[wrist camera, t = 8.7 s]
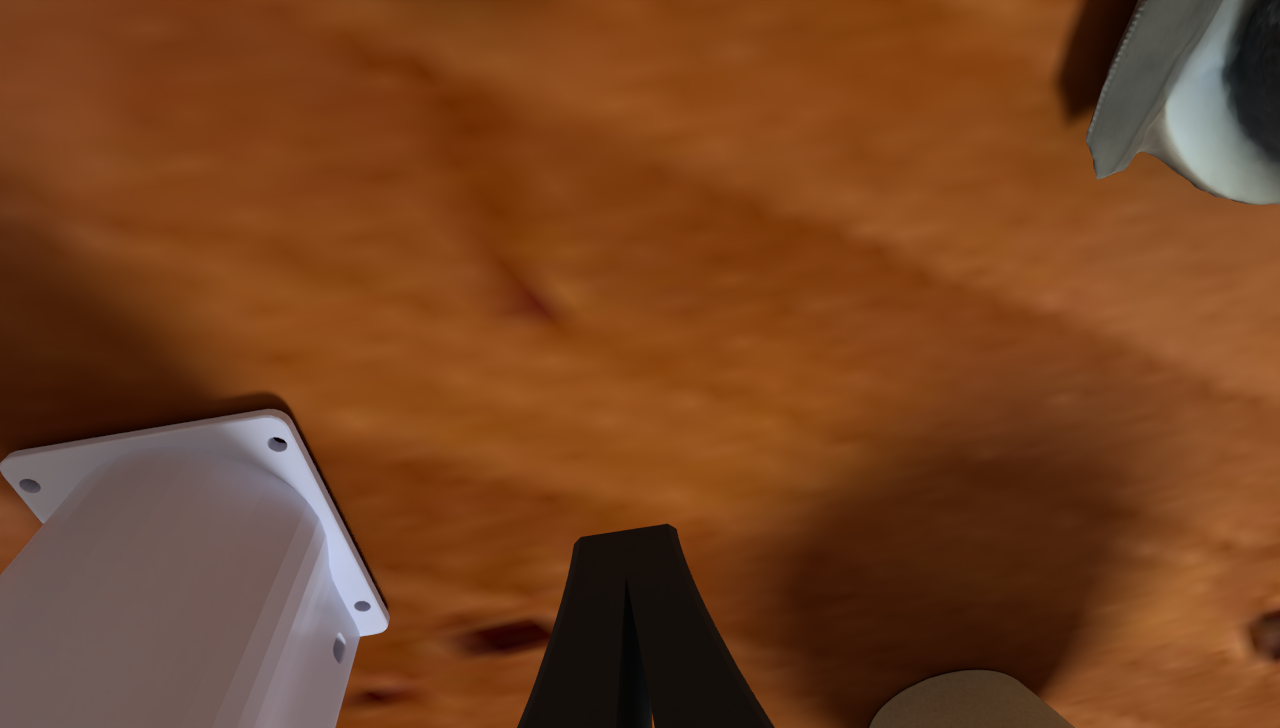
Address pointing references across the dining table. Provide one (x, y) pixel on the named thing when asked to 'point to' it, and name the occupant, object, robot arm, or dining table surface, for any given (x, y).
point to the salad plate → (1196, 96)
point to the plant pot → (968, 704)
